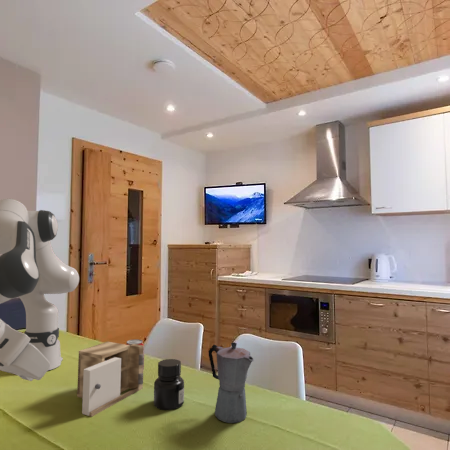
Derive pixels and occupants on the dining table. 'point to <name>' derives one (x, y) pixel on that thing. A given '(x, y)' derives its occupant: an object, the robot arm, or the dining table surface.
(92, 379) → the door
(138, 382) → the cabinet
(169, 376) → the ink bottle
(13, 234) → the robot arm
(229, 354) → the moka pot
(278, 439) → the dining table surface
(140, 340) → the soda can
